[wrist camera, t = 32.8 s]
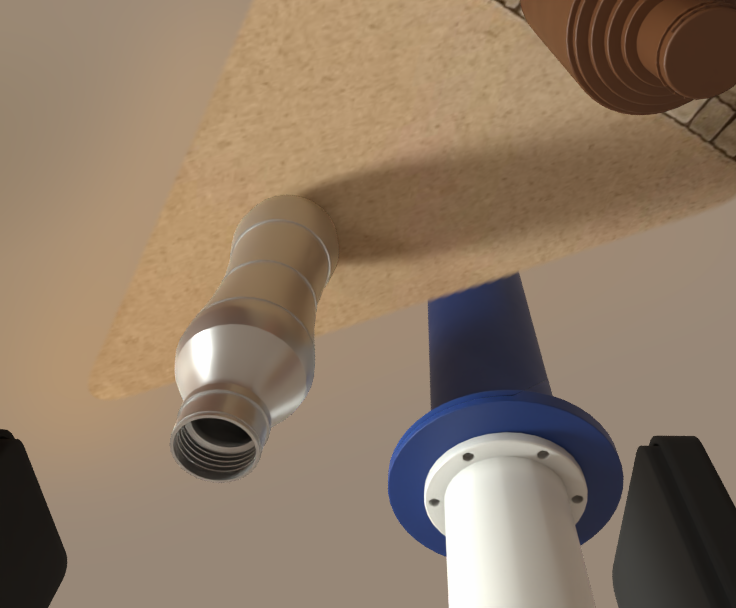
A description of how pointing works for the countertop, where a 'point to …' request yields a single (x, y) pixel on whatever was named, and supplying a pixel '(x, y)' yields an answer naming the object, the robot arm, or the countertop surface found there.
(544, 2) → the sauce bottle
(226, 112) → the countertop surface
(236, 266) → the silver water bottle
